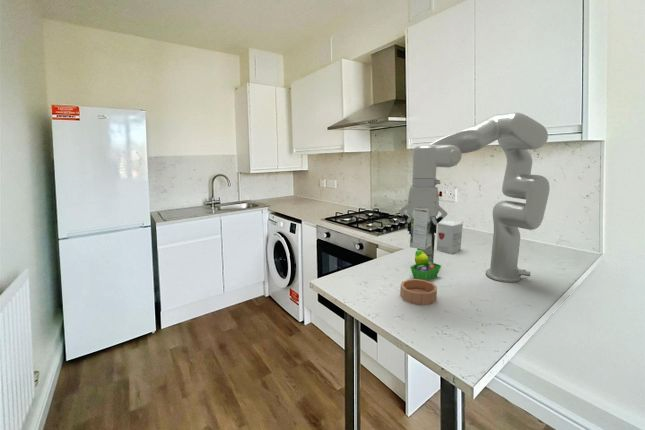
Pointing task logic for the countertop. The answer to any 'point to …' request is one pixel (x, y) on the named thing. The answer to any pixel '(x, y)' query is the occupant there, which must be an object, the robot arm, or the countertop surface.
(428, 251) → the coffee box
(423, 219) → the syrup box
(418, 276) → the fruit basket
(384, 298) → the countertop surface
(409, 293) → the bowl
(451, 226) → the supplement box
